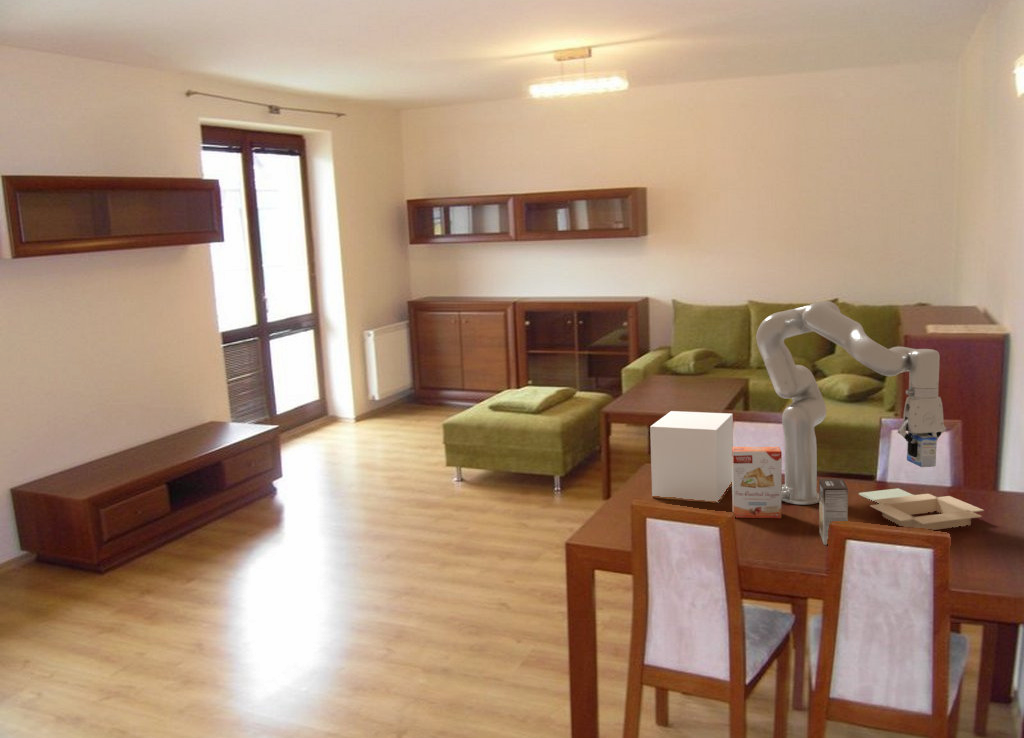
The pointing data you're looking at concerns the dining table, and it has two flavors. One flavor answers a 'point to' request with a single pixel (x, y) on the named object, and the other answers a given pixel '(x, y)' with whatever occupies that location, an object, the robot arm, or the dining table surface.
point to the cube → (692, 455)
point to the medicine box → (924, 451)
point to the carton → (949, 507)
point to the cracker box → (756, 482)
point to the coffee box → (831, 504)
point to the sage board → (884, 494)
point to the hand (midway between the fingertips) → (921, 454)
